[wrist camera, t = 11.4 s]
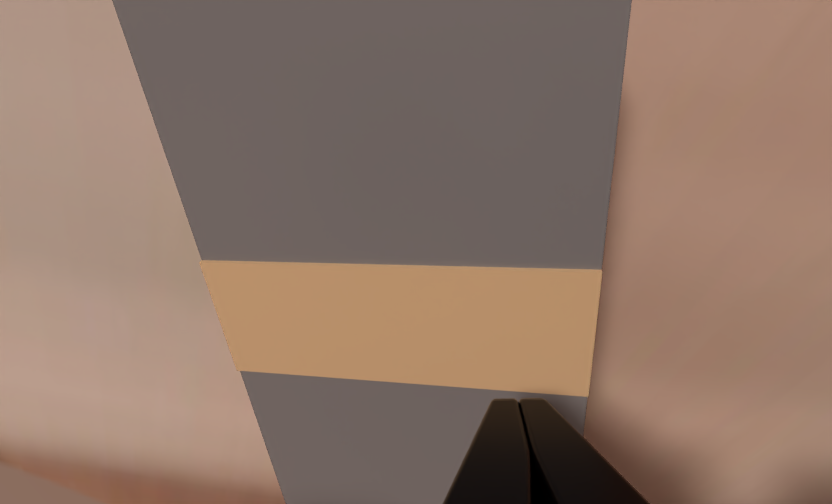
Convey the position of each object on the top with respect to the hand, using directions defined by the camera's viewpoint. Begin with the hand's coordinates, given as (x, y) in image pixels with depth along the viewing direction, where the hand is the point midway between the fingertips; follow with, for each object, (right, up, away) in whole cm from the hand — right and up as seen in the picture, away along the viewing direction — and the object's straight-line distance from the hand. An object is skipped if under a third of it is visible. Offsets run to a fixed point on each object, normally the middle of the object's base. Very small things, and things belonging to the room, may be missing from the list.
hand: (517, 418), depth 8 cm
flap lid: (-2, +2, +3) cm, 4 cm away
